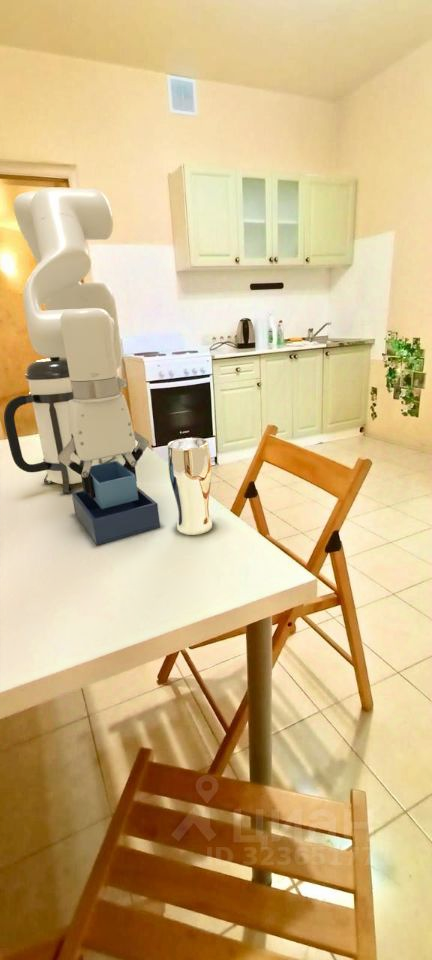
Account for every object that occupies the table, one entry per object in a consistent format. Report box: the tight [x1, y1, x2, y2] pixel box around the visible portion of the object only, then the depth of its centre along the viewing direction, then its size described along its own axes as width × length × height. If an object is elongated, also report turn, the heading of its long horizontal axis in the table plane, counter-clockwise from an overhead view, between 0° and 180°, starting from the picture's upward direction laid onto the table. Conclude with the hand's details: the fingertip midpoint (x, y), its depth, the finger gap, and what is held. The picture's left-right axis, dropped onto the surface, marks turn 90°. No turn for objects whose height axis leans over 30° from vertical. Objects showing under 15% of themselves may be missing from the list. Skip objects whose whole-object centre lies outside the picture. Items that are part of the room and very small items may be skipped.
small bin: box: [90, 460, 139, 509], centre depth 79 cm, size 10×6×4 cm, turn 30°
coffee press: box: [3, 357, 103, 494], centre depth 96 cm, size 17×16×30 cm
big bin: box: [71, 486, 161, 546], centre depth 81 cm, size 15×11×4 cm
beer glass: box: [167, 437, 213, 536], centre depth 74 cm, size 7×7×15 cm
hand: (111, 490), depth 79 cm, fingers closed on small bin, 6 cm apart
